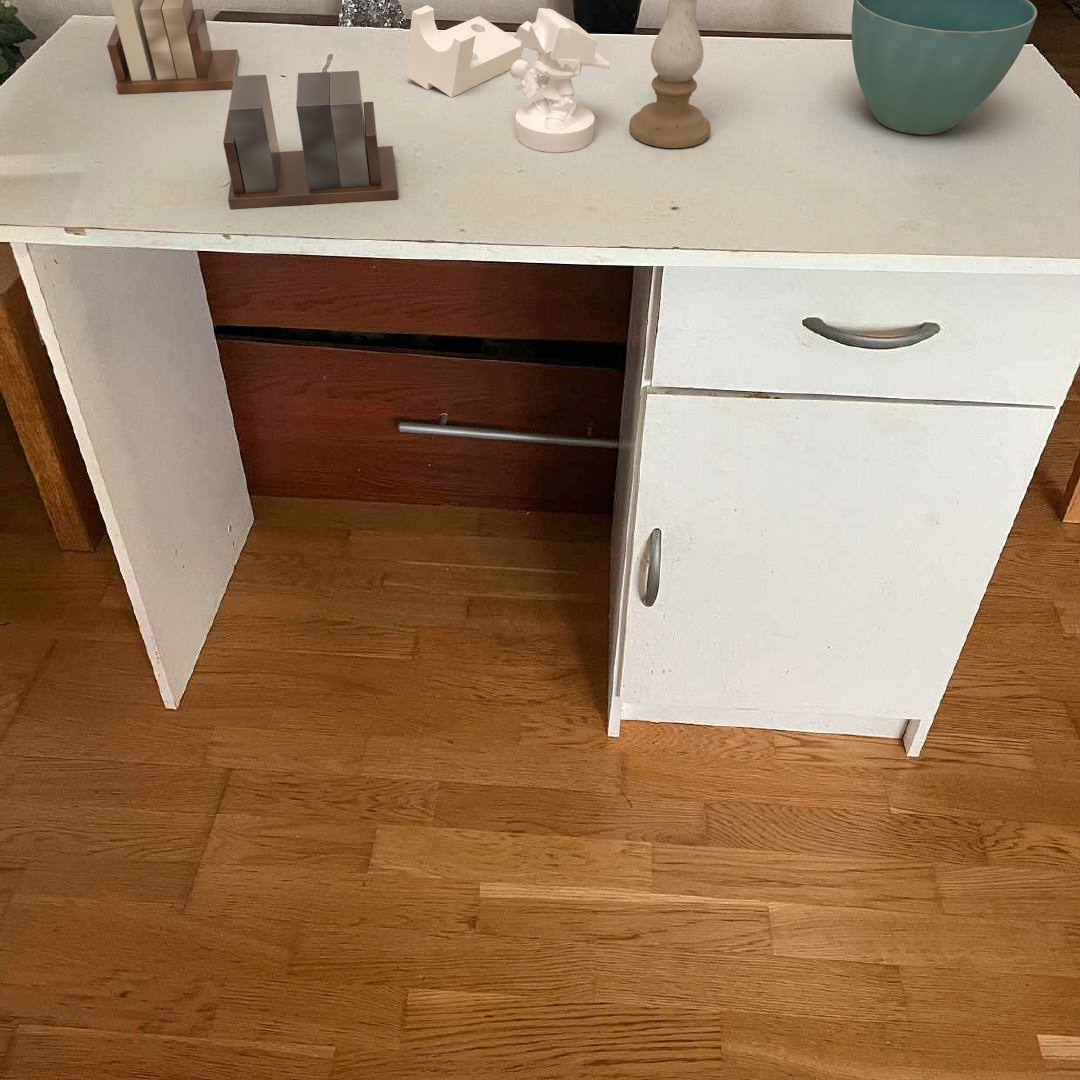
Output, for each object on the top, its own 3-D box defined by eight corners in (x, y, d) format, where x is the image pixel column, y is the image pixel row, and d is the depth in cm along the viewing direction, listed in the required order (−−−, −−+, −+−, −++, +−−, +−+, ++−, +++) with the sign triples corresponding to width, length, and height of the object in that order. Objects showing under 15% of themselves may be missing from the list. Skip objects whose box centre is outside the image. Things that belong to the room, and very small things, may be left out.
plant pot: (802, 125, 112) (825, 5, 103) (870, 76, 122) (896, -36, 114) (962, 170, 104) (1001, 45, 96) (1020, 114, 115) (1060, -3, 106)
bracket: (450, 105, 117) (460, 42, 111) (404, 74, 119) (412, 11, 113) (518, 71, 125) (531, 11, 119) (474, 43, 126) (485, -18, 120)
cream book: (131, 81, 116) (95, -56, 106) (140, 55, 122) (106, -77, 112) (151, 80, 116) (117, -57, 107) (159, 55, 122) (127, -77, 112)
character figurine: (504, 124, 111) (502, 6, 103) (583, 112, 114) (588, -4, 105) (532, 157, 105) (533, 35, 97) (615, 144, 108) (623, 24, 100)
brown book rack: (118, 94, 116) (95, 13, 110) (129, 62, 123) (109, -16, 117) (233, 89, 118) (218, 9, 111) (239, 57, 125) (224, -19, 118)
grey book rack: (230, 209, 97) (209, 114, 90) (236, 163, 104) (217, 72, 97) (398, 199, 98) (389, 105, 92) (393, 155, 105) (385, 65, 99)
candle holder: (705, 117, 113) (732, -92, 99) (713, 150, 107) (743, -67, 93) (627, 115, 113) (642, -94, 99) (630, 148, 107) (647, -69, 93)
